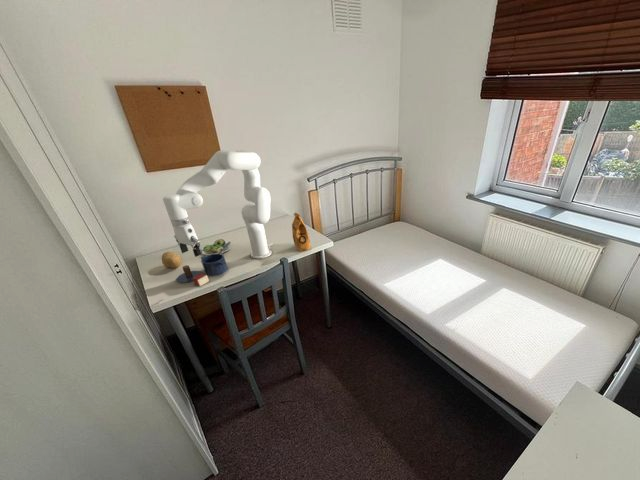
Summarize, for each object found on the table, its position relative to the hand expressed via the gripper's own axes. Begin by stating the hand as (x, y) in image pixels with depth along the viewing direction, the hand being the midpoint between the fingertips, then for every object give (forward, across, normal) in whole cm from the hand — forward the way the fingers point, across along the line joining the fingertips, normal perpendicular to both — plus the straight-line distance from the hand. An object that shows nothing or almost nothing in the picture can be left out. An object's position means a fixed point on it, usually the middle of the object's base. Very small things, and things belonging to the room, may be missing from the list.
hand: (191, 253), depth 147 cm
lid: (+16, +9, 0) cm, 19 cm away
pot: (+17, +1, -11) cm, 20 cm away
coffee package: (+16, -24, -57) cm, 64 cm away
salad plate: (+17, +25, -31) cm, 43 cm away
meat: (+17, -2, +1) cm, 17 cm away
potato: (+17, +29, -5) cm, 34 cm away
